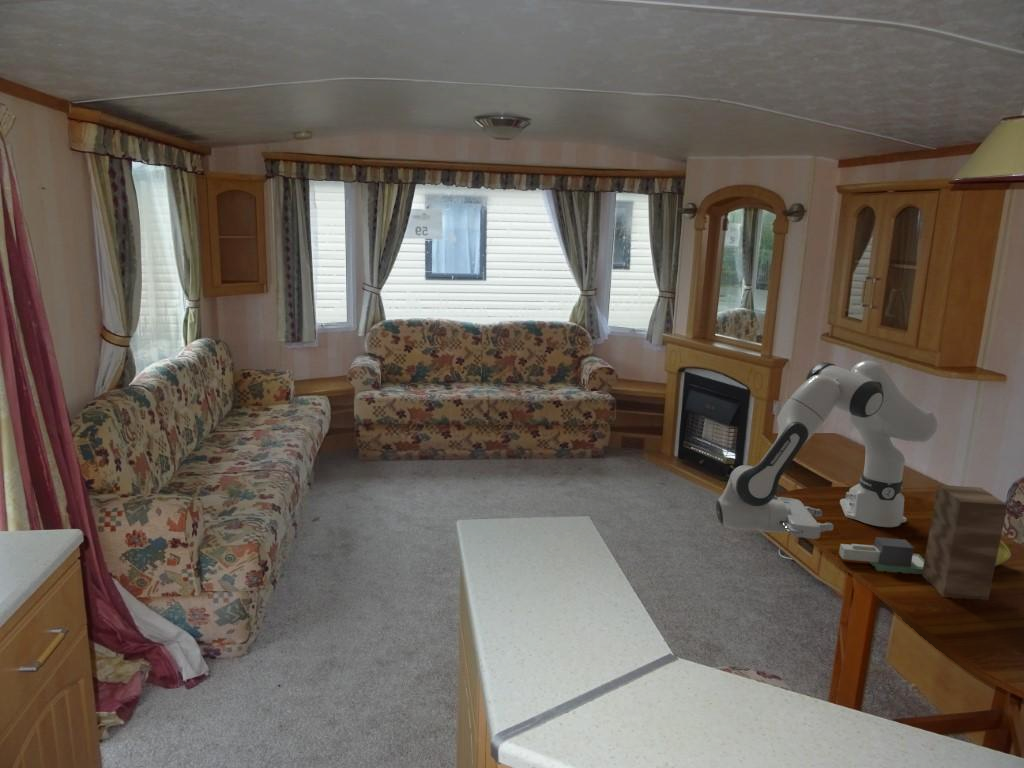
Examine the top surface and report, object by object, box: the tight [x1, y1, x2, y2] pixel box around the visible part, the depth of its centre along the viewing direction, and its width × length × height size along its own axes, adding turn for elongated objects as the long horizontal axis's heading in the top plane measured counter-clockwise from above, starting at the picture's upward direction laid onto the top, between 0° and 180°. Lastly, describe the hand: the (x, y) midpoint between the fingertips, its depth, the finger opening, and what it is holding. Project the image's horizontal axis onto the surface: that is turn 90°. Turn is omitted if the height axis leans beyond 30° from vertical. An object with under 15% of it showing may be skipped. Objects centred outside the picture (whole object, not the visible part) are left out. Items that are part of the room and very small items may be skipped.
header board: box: [869, 553, 925, 575], centre depth 204 cm, size 10×15×2 cm, turn 85°
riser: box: [921, 484, 1008, 601], centre depth 190 cm, size 12×11×26 cm
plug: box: [838, 536, 915, 567], centre depth 203 cm, size 6×18×6 cm, turn 83°
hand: (826, 519), depth 203 cm, fingers open, 8 cm apart
